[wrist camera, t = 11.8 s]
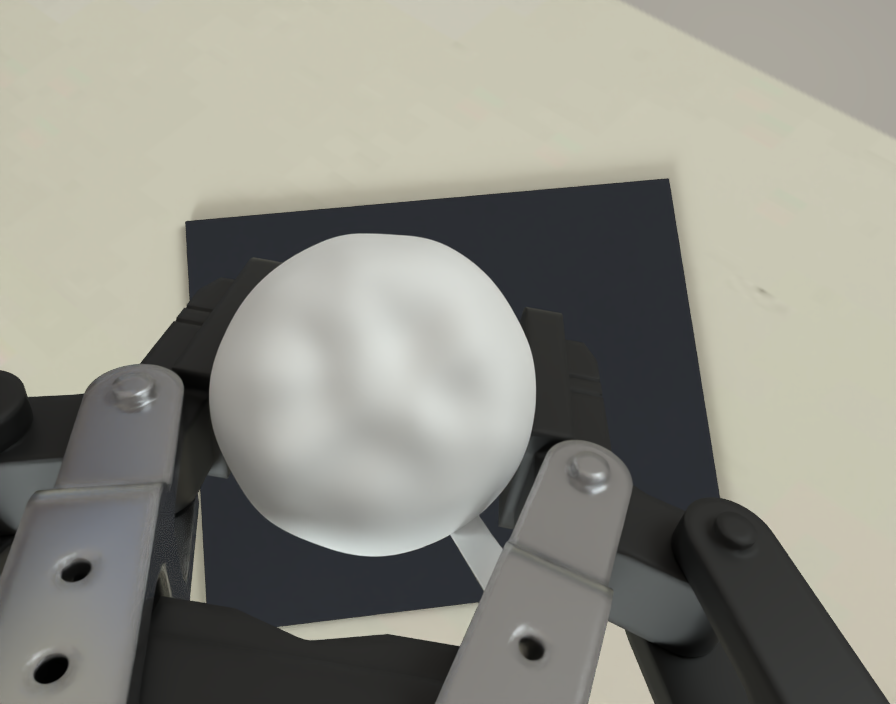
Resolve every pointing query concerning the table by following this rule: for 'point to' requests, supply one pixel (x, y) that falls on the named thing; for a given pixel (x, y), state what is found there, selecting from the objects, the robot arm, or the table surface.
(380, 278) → the milkshake
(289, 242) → the mouse pad
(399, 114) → the table surface
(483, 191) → the table surface
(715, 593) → the robot arm
